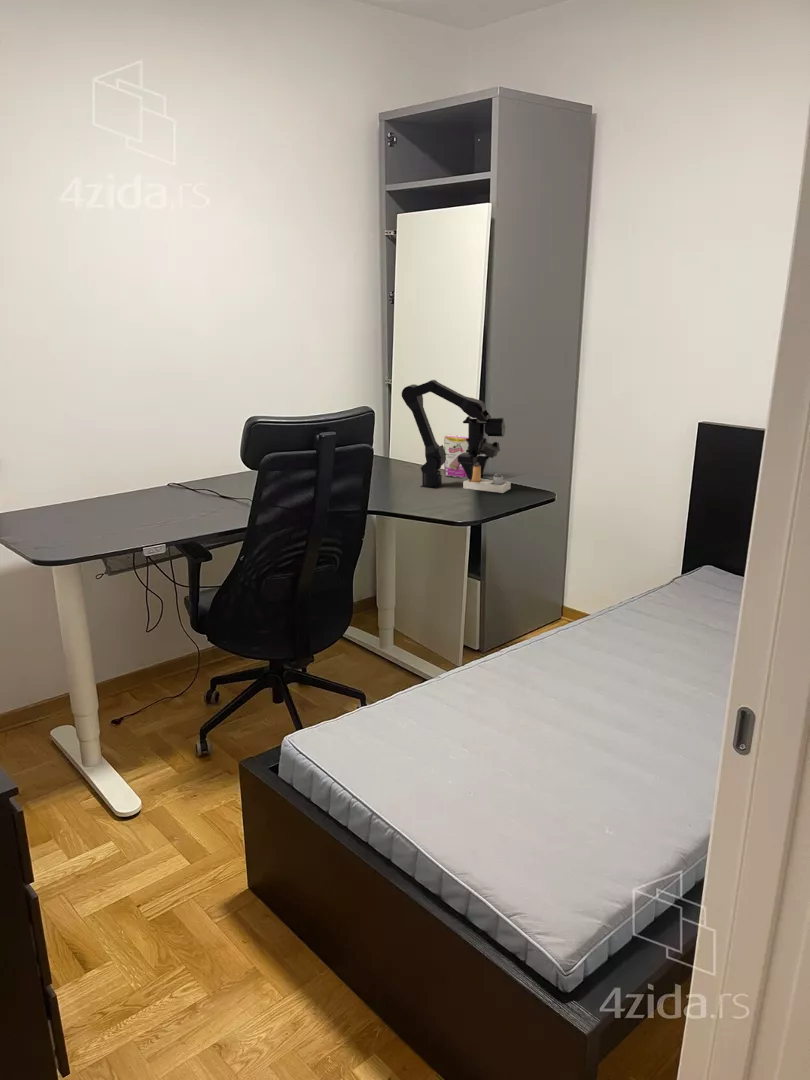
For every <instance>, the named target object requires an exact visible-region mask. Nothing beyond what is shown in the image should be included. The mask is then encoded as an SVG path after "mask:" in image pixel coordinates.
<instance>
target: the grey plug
mask: <svg viewBox="0 0 810 1080" xmlns="http://www.w3.org/2000/svg"><path fill="white" fill-rule="evenodd" d="M492 480H493V484H494V485H503V481H504V476H503V475H502V473H501V472H496V473H494V475H493V477H492Z"/></svg>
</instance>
